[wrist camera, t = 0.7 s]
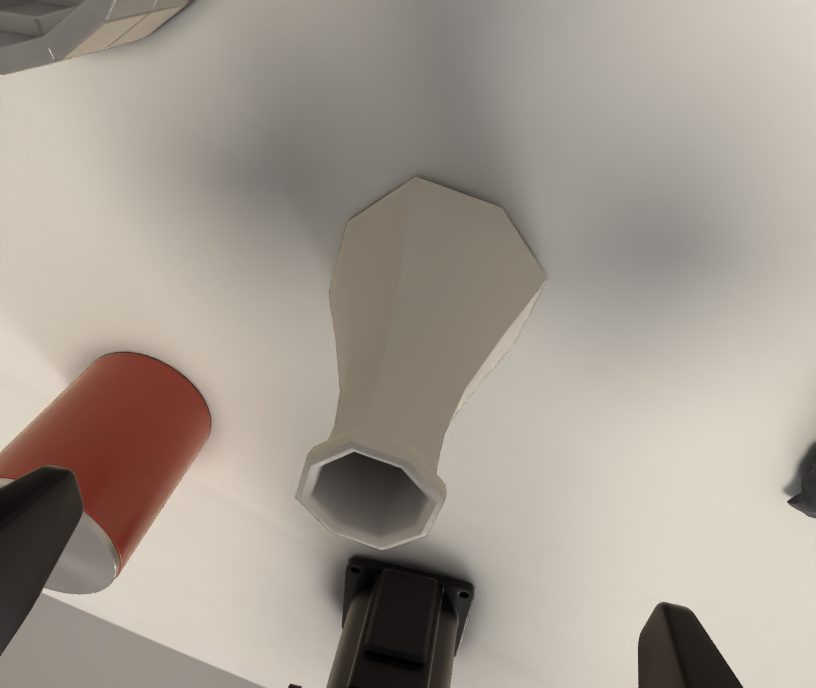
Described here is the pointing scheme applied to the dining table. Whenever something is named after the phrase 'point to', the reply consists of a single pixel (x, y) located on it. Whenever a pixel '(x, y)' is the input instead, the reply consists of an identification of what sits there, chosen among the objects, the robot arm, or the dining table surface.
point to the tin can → (113, 458)
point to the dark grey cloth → (806, 495)
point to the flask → (412, 352)
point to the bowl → (73, 28)
